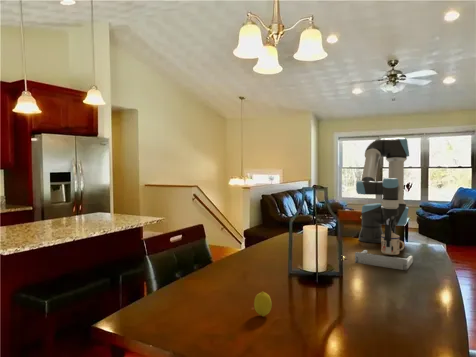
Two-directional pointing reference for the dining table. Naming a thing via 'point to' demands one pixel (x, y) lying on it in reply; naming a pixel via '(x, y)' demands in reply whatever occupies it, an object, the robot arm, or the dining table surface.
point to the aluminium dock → (383, 260)
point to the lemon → (262, 304)
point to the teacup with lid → (394, 244)
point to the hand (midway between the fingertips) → (390, 251)
